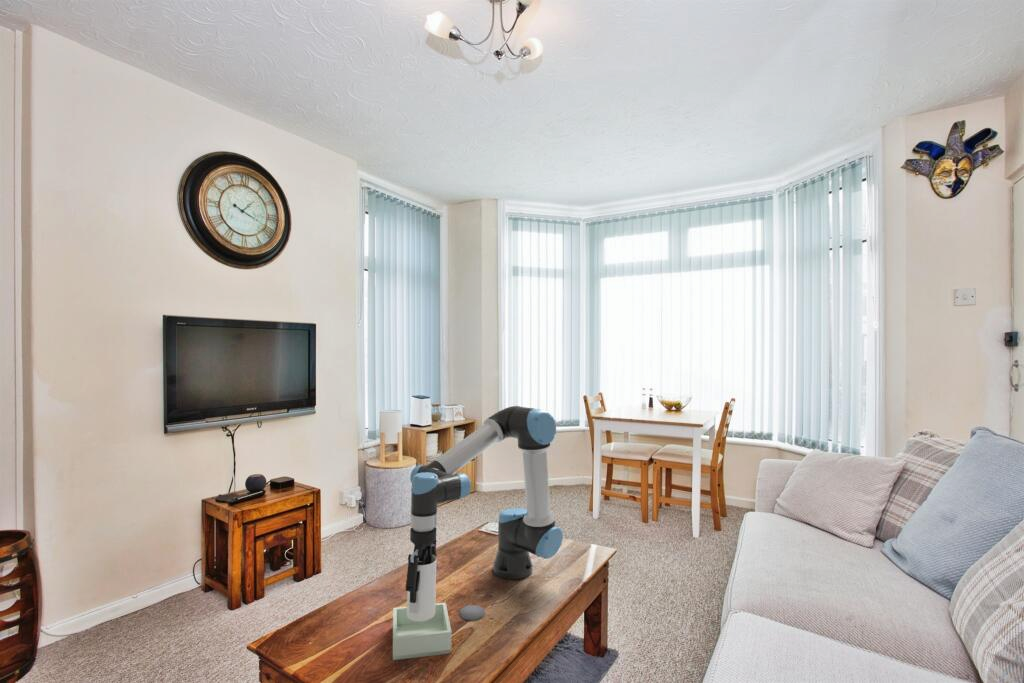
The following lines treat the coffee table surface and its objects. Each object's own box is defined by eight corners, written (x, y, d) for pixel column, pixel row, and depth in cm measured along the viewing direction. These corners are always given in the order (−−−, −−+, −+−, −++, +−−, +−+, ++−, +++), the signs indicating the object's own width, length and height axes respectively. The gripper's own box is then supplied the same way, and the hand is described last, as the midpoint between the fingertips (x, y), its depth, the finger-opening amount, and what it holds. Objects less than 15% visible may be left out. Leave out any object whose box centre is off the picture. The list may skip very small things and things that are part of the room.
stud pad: (482, 605, 165) (482, 604, 165) (486, 618, 157) (486, 617, 157) (458, 608, 163) (458, 606, 163) (461, 621, 155) (461, 619, 155)
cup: (439, 608, 148) (441, 555, 148) (428, 623, 140) (429, 567, 140) (414, 604, 150) (415, 551, 150) (401, 618, 142) (403, 563, 142)
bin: (445, 621, 155) (445, 602, 155) (451, 653, 139) (451, 631, 140) (392, 627, 151) (393, 607, 151) (392, 660, 136) (393, 638, 136)
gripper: (427, 514, 157) (425, 586, 156) (393, 538, 136) (391, 621, 136) (449, 517, 154) (447, 590, 154) (418, 542, 134) (416, 626, 134)
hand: (421, 604), depth 145 cm, fingers closed on cup, 8 cm apart
